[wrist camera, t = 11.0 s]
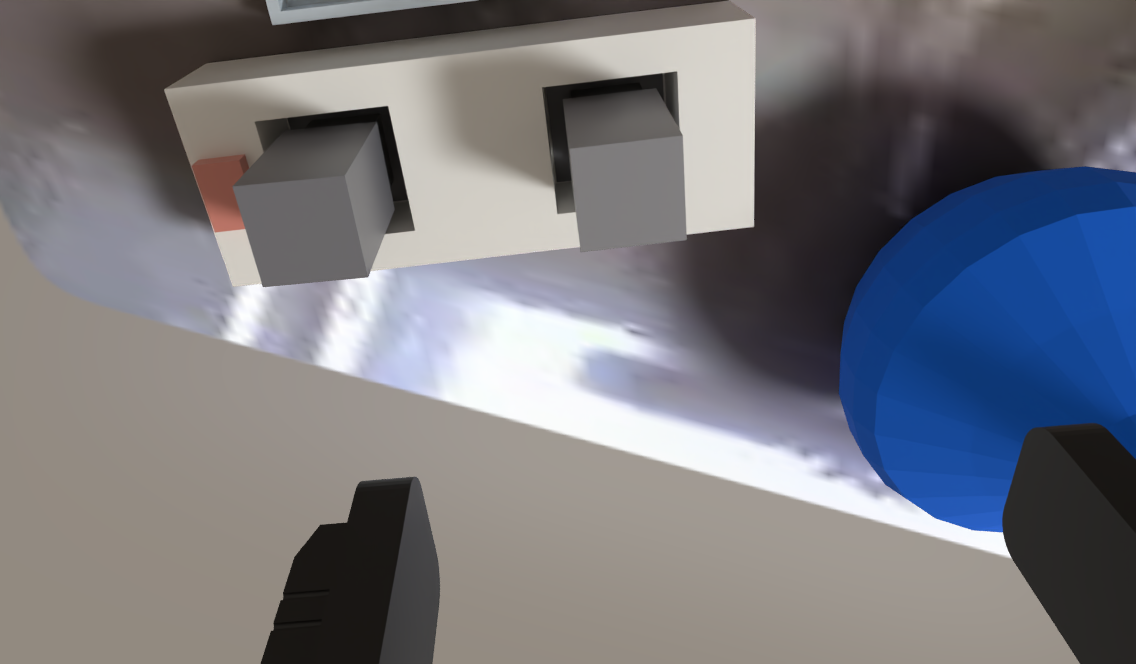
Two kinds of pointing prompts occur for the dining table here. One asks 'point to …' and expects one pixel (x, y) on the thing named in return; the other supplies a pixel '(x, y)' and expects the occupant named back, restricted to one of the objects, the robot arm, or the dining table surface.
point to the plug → (318, 201)
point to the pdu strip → (484, 125)
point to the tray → (339, 8)
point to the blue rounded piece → (993, 335)
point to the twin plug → (625, 167)
